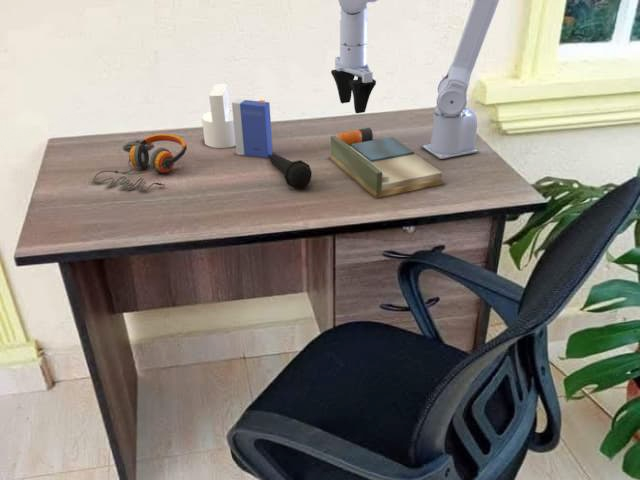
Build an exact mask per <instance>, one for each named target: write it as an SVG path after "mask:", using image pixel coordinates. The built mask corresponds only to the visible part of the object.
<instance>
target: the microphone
mask: <svg viewBox="0 0 640 480" xmlns="http://www.w3.org/2000/svg"><path fill="white" fill-rule="evenodd" d="M268 158H269V161H270V163H271V165H273V166H274V167H275V168H276V169H277V170H278V171H279V172H281V174H283V177H284V179H285V182H286V184H287V185H288V186H289V187H291V188H292V189H294V190H298V189H304V188H305V187H307V185H308V184H309V183H310V182H311V179H312V175H313V172H312V169H311V167H310V164H308V163H306V161H305V162H304V161H303V160H300V159H299V160H294V161H291V160H289V159H287V158H286V157H282V156H281V155H279V154H274V153H273V154H272V155H268Z"/></svg>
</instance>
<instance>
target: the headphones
mask: <svg viewBox="0 0 640 480" xmlns="http://www.w3.org/2000/svg"><path fill="white" fill-rule="evenodd" d="M164 141H165V142H173V143H177V144H179V145H180V146H181V150H180V151H179V152H178V153H177V154H175V155H173V154H172V152H171V151H170V150H169V149H167V148H166V147H157V149H155V150H154V151H153V152H152V154H151V155H150V154H149V149H148V148H147V146H146V145H149V144H153V143H156V142H164ZM187 149H188V147H187V143H186V141H185V140H184V138H182V137H181V136H179V135H176V134H172V133H156V134H152V135H148V136H146V137H144V138H143V139H142V140H141V141H139V142H138V143H137V144H136V145H134V146H132V147H130V150H129V154H128V158H129V160H128V162H127V163H128V167H129V168H130V170H128V171H118V170H109V169H107V170H102V171H99V172H98V173H96V174H95V175H94V176H93V182H94V183H96V184H101V183H103V182H106V181H108V180H109V181H110V180H111V182H110V183H109V184H108V186H107V188H108V189H110V188H112V187H113V186H115V184H116V183H119V185H121V186H122V187H121V190H122V191H125V190H127V191H131V190H132V189H134V187H135V189H138V188H139V191H141V192H146V191H148V190H149V189H150V188H151V187H152V186H153V185H157V186H164V187H165V186H166V184H163V183H161V182H153V183H151V184H150V185H149V186H148V187H147V188H145V189H142V188H143V187H144V186H145V184H146V183H147V181H146V180H145V179H144V178H143V177H141V178H139V179H138V180H136V182H135V183H133V182H131V179H129V178H128V179H127V176H126V175H139V174H144V173H145V174H146V173H147V172H148V173H149V172H152V171H153V172H156V173H157V174H164V173H169V172H170V171H171V170H172V169H173V167H174V165H175V163H176V162H177V161H179V160H180V159H181V158H182V157H183V156H184V155H185V153H186V151H187ZM130 163H131V164H130ZM149 164H150V168H151V169H147V167H148V166H149ZM131 165H132V166H133V167H134V168H138V169H139V170H144V171H141V172H132V171H133V167H132V166H131ZM146 169H147V170H146ZM105 172H106V173H107V172H108V173H109V172H110V173H115V174H120V175H123V176H121V177H119V178H118V179H117V180H115V179H114V178H113V177H108V178H106V179H102V180H101V181H96V177H97V176H98V175H100V174H102V173H105ZM126 179H127V180H126ZM120 180H121V181H120ZM114 181H115V182H114ZM119 181H120V182H119ZM130 182H131V183H130Z"/></svg>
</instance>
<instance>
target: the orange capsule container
mask: <svg viewBox="0 0 640 480" xmlns="http://www.w3.org/2000/svg"><path fill="white" fill-rule="evenodd" d="M373 134H374V133H373V130H372V128H371V127H364V128H359V129H356V130H355V129H354V130H350V131H344V132H341V133H338V134H337V135H336V136H337V137H338V138H339V139H340V140H342V141H343V142H344V143H346V144H348V145H349V146H351V144H354V143H360V142H366V141H371V140H374V135H373Z"/></svg>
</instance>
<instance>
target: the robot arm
mask: <svg viewBox="0 0 640 480" xmlns="http://www.w3.org/2000/svg"><path fill="white" fill-rule="evenodd" d="M377 1H378V0H338V3H339V6H340V20H339V56H335V57H334V69H331V71H330V73H331V76H332V77H333V79H334V80H333V81H334V82H335V85H336V88H337V92H338V98H339V101H340V103H341V104H346V103H351V99H352V98H353V107H354V112H355V114H362V113H366V110H367V106H368V102H369V99H370V96H371V93H372V91H373V90H374V88H375V86H376V84H377V80H376V79H374V77H373V75H374V74H373V72H372V71H371V69H370V67H369V65H368V62H367V61H368V60H367V58H368V25H369V23H368V22H369V21H368V6H367V4H368V3H375V2H377ZM499 2H500V0H473V3H472V5H471V8H470V11H469V14H468V17H467V20H466V23H465V26H464V28H463V31H462V33H461V37H460V39H459V42H458V45H457V48H456V50H455V53H454V57H453V59H452V62H451V64H450V66H449V68H448V70H447V73H446V75H445V76H444V77H443V78H442V79H441V80H440V82H439V84H438V86H437V97H436V106H435V107H434V108H433V115H432V128H431V137H430V139H431V140H430V143H429V144H423V145H422V148H423V149H424V150H426V151H428V152H429V153H431V155H434V156H435V157H437V158H438V159H440V160H444V159H448V158H454V157H459V156H465V155H469V154H474V153H477V149H476V141H477V134H478V133H477V132H478V123H479V121H478V116H477V114H476V112H475V110H473V109H472V108H468V107H467V104H468V96H467V94H468V93H467V92H468V89H469V87H470V83H471V80H472V75H473V71H474V69H475V66H476V63H477V61H478V58H479V55H480V53H481V50H482V47H483V46H484V42H485V39H486V37H487V34H488V31H489V29H490V27H491V24H492V21H493V18H494V16H495V13H496V10H497V8H498V5H499ZM355 78H357V79H355Z"/></svg>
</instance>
